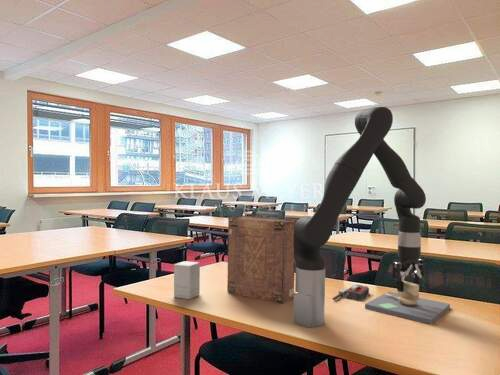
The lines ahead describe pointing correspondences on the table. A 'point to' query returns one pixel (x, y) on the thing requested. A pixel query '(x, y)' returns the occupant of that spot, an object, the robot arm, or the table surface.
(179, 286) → the supplement box
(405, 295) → the tuning knob
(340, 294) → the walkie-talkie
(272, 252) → the book
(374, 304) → the grey flat square slab
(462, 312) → the table surface
